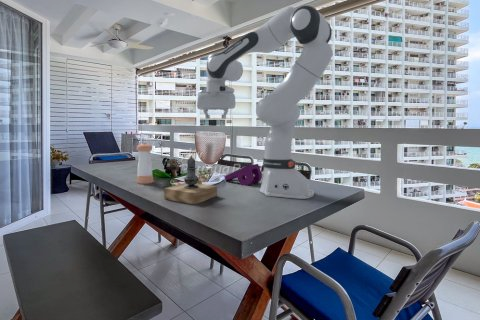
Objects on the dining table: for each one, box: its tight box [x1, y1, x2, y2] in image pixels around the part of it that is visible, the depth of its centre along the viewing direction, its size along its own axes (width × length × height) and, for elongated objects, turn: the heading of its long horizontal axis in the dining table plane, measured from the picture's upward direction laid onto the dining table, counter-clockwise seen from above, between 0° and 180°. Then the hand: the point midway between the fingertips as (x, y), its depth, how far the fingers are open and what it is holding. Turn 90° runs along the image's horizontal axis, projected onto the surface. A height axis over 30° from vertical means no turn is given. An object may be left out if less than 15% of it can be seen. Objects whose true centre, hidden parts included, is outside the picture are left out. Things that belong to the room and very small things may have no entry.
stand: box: [163, 182, 218, 205], centre depth 103 cm, size 14×14×4 cm
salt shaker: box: [136, 142, 154, 185], centre depth 130 cm, size 7×7×19 cm
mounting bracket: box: [224, 163, 263, 187], centre depth 134 cm, size 9×8×18 cm
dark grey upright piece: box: [183, 155, 200, 189], centre depth 102 cm, size 6×6×12 cm
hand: (215, 118), depth 132 cm, fingers open, 8 cm apart
